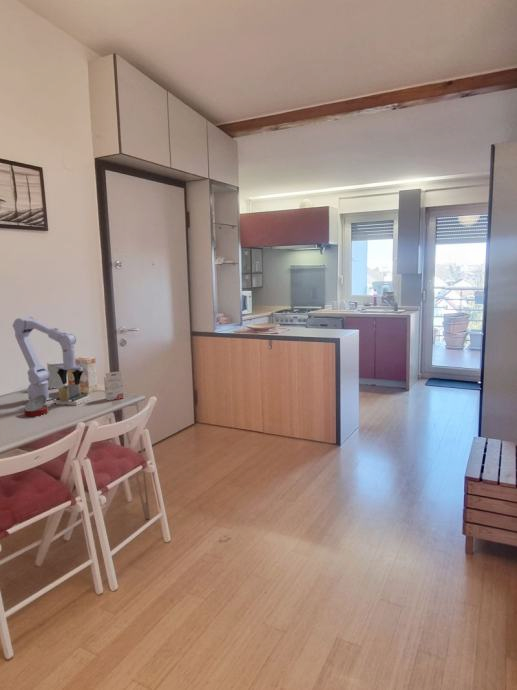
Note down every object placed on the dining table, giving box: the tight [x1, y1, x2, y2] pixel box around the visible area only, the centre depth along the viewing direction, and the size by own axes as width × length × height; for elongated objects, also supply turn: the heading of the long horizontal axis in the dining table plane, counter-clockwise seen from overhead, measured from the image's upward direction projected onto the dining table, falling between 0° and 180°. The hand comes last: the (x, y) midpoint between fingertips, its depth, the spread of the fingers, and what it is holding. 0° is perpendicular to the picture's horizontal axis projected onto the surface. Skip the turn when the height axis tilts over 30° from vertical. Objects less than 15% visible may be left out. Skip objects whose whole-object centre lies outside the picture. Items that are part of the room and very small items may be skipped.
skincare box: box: [46, 361, 66, 390], centre depth 265 cm, size 8×6×15 cm
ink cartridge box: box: [103, 371, 124, 401], centre depth 238 cm, size 9×5×15 cm, turn 118°
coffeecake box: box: [67, 355, 98, 394], centre depth 255 cm, size 15×7×20 cm, turn 68°
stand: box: [52, 393, 92, 406], centre depth 234 cm, size 14×11×3 cm
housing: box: [58, 384, 82, 401], centre depth 232 cm, size 10×5×6 cm, turn 164°
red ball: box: [24, 395, 49, 418], centre depth 213 cm, size 11×10×10 cm
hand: (71, 384), depth 233 cm, fingers open, 7 cm apart
